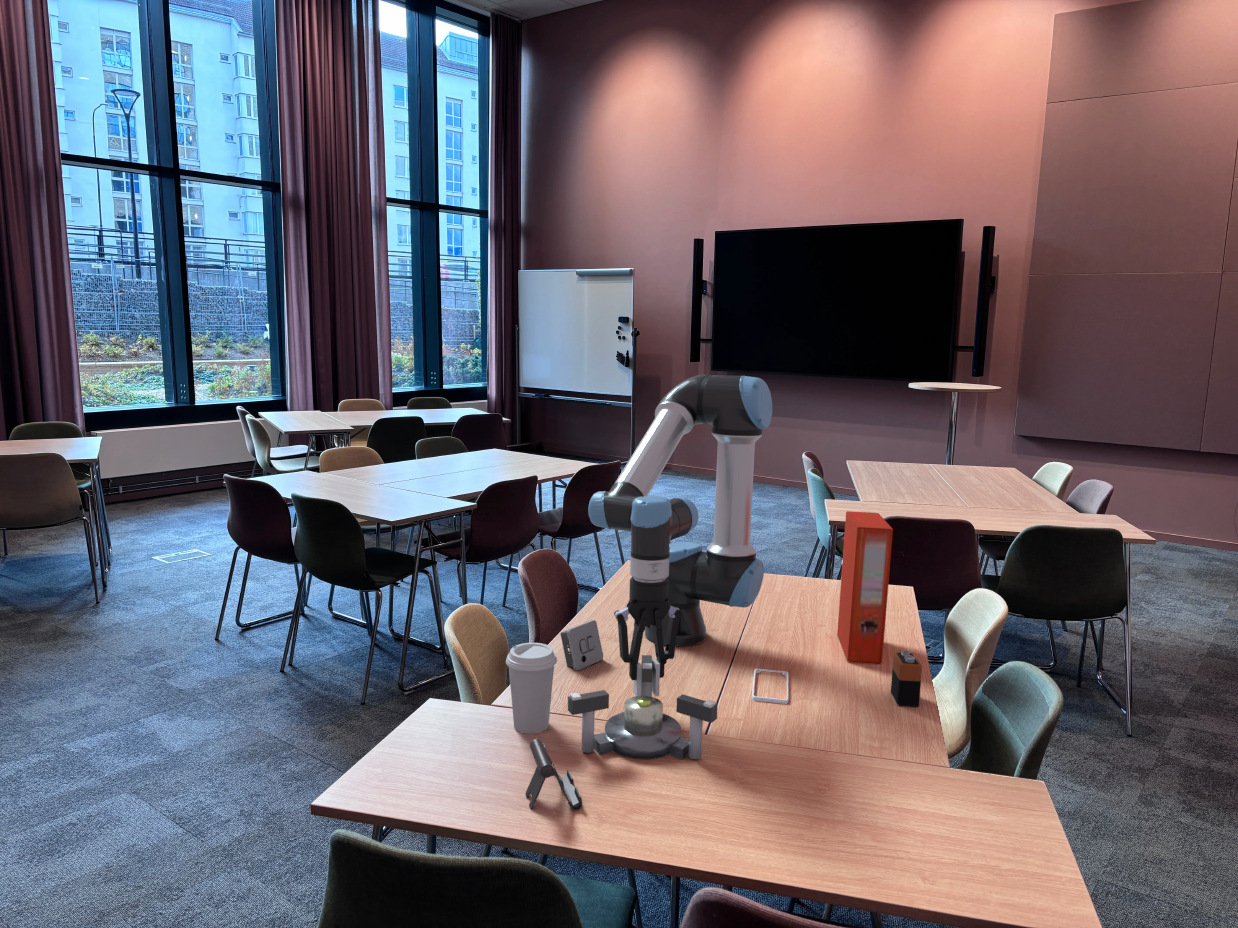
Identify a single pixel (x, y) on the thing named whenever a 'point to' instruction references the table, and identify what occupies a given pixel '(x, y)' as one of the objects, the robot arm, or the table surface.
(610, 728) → the levelling base
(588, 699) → the foot screw
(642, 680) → the foot screw
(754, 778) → the table surface
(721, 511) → the robot arm
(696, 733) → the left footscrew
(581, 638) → the electrical switch
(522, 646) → the coffee cup
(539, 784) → the portable electronic device stand
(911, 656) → the battery
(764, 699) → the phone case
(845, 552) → the file binder
